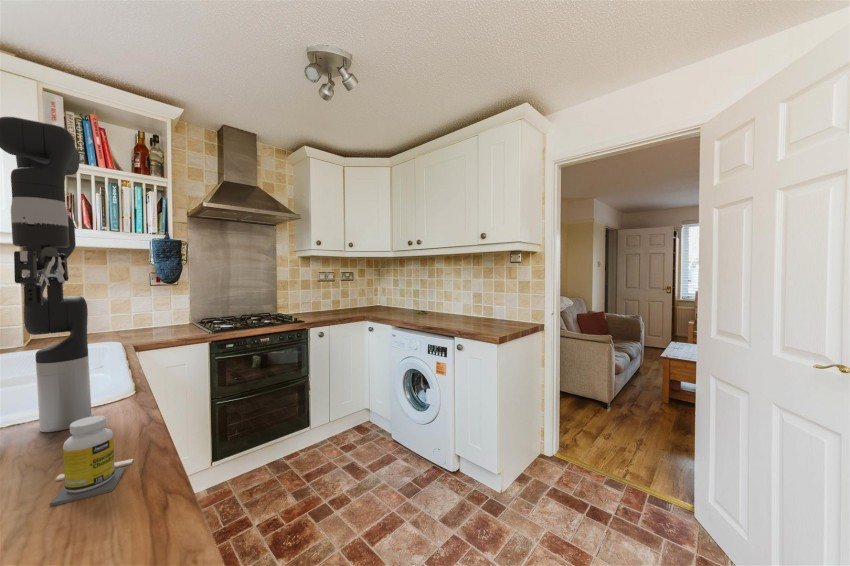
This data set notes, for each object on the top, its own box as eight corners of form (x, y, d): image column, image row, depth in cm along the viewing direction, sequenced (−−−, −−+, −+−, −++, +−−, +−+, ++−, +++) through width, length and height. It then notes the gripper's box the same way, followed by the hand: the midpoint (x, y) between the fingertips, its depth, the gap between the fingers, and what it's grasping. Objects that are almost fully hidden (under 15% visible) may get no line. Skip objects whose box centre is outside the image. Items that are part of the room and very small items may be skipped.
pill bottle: (83, 496, 58) (80, 430, 57) (55, 492, 59) (51, 427, 59) (124, 474, 64) (121, 414, 64) (97, 470, 66) (94, 412, 65)
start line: (59, 476, 65) (59, 474, 65) (133, 460, 70) (133, 458, 70) (55, 481, 63) (55, 478, 63) (131, 464, 69) (131, 462, 69)
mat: (69, 481, 63) (69, 479, 63) (125, 469, 67) (125, 466, 67) (49, 506, 56) (49, 503, 56) (112, 490, 60) (112, 488, 60)
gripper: (33, 226, 72) (37, 302, 72) (-11, 217, 59) (-5, 308, 60) (81, 228, 75) (85, 300, 76) (49, 219, 63) (54, 306, 63)
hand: (45, 304), depth 68 cm, fingers open, 8 cm apart
